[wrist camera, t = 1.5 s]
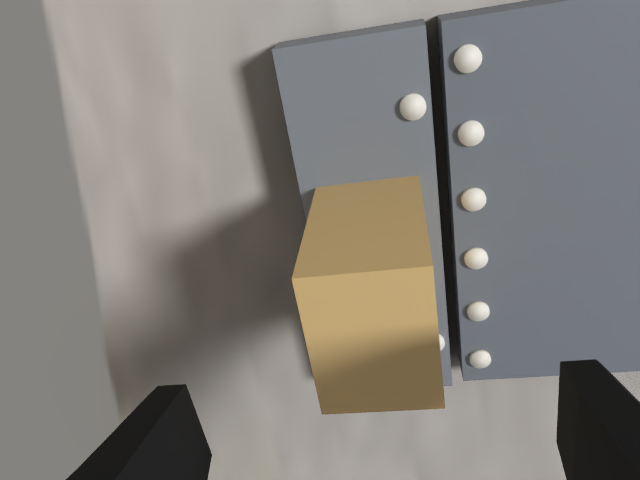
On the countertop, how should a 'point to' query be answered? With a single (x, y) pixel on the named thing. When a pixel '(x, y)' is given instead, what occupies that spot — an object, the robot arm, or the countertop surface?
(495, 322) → the grey studded panel
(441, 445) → the countertop surface
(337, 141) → the stub
